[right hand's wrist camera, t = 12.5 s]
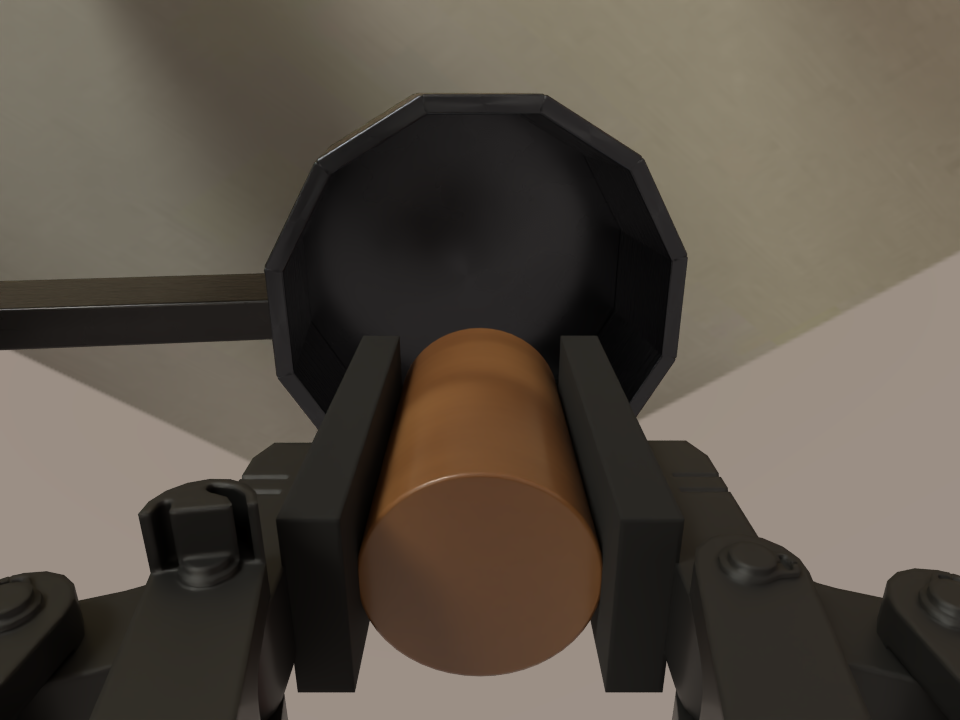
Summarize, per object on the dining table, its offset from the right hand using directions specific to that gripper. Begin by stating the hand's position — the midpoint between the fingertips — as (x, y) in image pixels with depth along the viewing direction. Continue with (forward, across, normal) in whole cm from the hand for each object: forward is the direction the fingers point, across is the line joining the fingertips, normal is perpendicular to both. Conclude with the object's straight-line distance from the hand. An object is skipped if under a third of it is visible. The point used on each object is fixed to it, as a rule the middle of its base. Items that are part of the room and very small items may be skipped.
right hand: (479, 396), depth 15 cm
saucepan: (+10, -8, 0) cm, 13 cm away
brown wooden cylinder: (0, 0, 0) cm, 0 cm away
